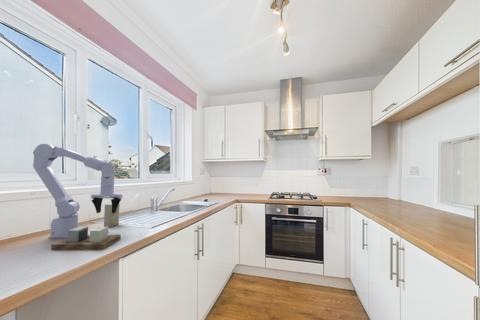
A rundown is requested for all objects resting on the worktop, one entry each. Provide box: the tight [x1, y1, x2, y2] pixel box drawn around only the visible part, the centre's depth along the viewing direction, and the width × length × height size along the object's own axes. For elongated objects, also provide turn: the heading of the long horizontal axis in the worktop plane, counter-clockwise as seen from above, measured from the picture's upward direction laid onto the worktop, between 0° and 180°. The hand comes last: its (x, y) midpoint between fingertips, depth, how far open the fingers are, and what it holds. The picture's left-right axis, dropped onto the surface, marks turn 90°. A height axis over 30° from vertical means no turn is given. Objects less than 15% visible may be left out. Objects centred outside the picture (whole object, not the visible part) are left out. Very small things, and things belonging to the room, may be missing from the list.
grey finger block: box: [68, 226, 89, 243], centre depth 86 cm, size 4×6×6 cm, turn 2°
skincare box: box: [103, 202, 120, 228], centre depth 116 cm, size 6×4×12 cm
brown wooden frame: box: [51, 234, 122, 251], centre depth 86 cm, size 20×12×2 cm, turn 92°
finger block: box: [89, 226, 109, 242], centre depth 86 cm, size 4×6×6 cm, turn 2°
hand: (106, 212), depth 104 cm, fingers open, 7 cm apart
